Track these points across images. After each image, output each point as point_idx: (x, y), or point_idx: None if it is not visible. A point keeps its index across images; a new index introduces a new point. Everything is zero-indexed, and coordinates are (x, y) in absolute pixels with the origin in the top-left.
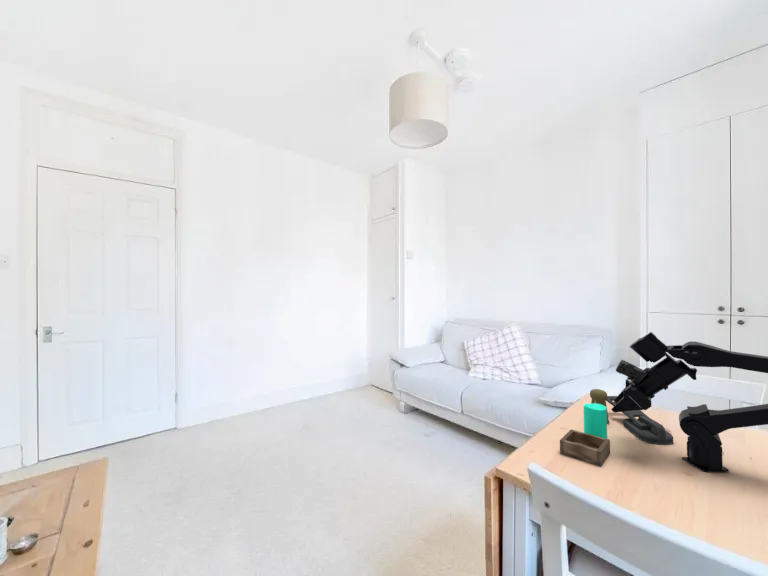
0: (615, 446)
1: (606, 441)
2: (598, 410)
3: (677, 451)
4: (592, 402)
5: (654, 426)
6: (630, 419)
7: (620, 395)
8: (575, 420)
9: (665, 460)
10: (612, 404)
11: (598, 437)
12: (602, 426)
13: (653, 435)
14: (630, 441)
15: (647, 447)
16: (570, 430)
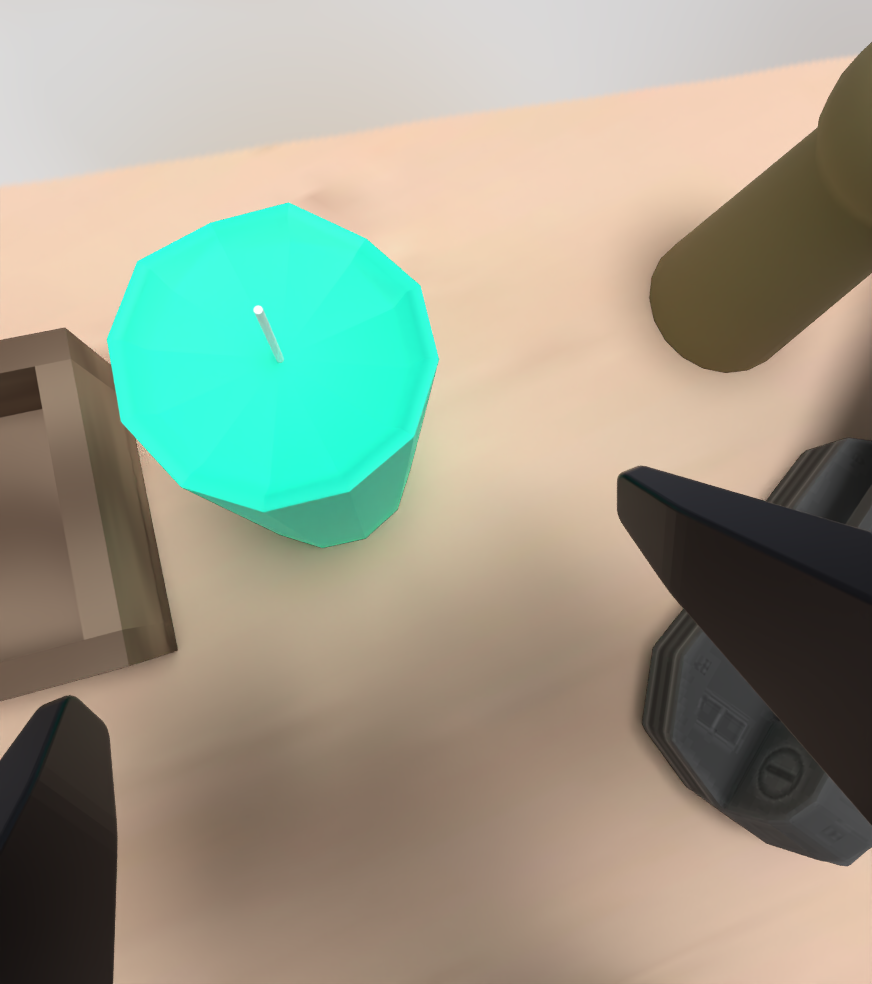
0: (345, 611)
1: (48, 672)
2: (157, 459)
3: (682, 924)
4: (791, 155)
5: (806, 781)
6: None
7: (747, 562)
8: (574, 189)
9: (424, 955)
10: None
11: (85, 578)
12: (260, 522)
13: (721, 760)
14: (549, 629)
15: (551, 758)
16: (29, 340)
